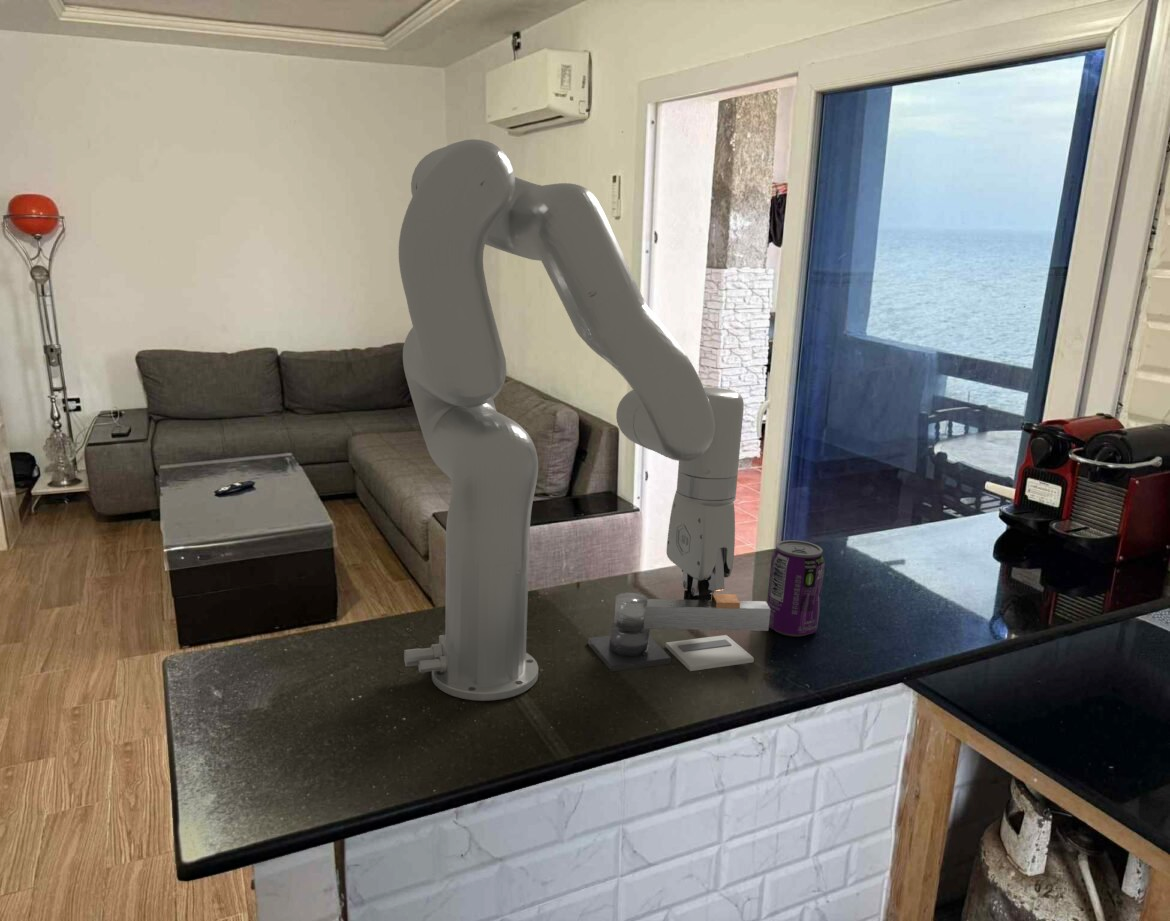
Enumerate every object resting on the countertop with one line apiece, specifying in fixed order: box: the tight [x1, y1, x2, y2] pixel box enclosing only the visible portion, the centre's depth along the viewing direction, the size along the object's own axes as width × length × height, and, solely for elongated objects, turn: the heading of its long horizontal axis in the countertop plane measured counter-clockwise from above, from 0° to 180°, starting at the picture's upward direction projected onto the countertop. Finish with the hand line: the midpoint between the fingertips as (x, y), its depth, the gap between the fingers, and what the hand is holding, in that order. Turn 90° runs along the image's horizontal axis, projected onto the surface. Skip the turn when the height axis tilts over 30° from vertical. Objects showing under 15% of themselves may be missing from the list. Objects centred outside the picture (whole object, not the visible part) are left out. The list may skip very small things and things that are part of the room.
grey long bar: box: [613, 592, 770, 632], centre depth 110 cm, size 20×4×4 cm, turn 93°
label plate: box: [665, 634, 755, 672], centre depth 111 cm, size 9×7×1 cm
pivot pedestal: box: [587, 622, 671, 673], centre depth 110 cm, size 8×8×4 cm
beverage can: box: [766, 539, 825, 638], centre depth 119 cm, size 7×7×12 cm
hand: (695, 619), depth 114 cm, fingers closed
